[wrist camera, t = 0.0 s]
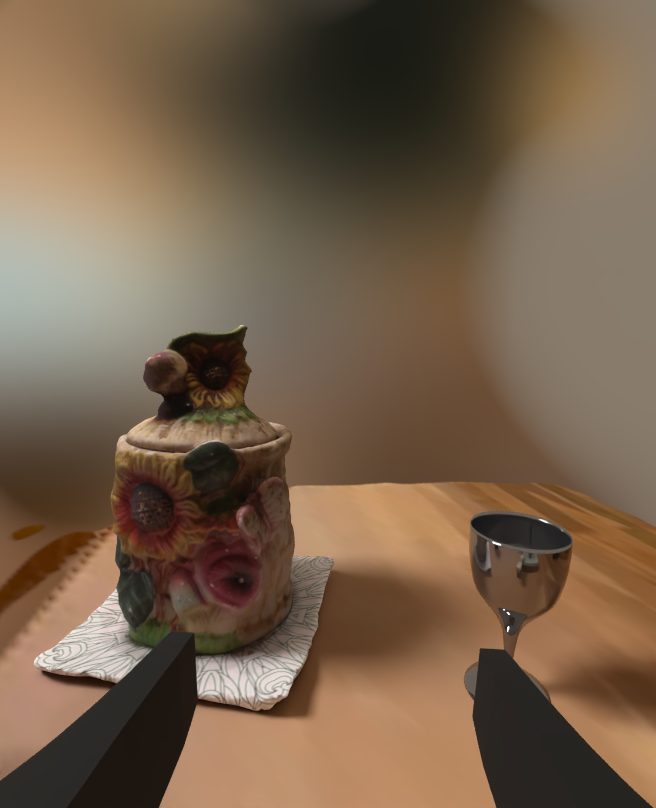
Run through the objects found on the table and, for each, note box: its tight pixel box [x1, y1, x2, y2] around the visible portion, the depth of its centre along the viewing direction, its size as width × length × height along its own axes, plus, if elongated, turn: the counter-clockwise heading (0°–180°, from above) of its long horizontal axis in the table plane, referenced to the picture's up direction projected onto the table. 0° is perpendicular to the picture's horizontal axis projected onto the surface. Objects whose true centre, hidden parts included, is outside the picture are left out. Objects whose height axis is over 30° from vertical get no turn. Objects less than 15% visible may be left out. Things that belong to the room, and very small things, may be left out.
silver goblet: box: [464, 511, 573, 702], centre depth 38 cm, size 8×8×15 cm
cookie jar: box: [34, 325, 334, 711], centre depth 46 cm, size 25×25×32 cm
